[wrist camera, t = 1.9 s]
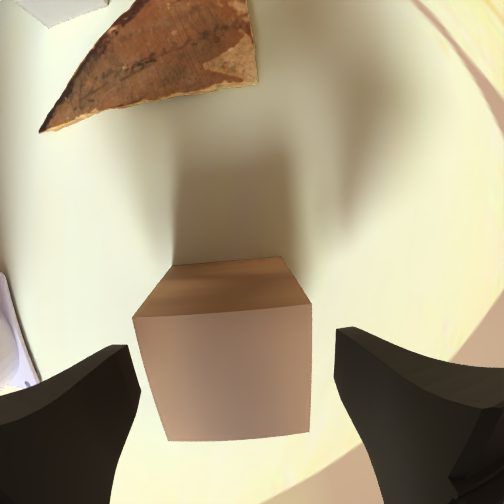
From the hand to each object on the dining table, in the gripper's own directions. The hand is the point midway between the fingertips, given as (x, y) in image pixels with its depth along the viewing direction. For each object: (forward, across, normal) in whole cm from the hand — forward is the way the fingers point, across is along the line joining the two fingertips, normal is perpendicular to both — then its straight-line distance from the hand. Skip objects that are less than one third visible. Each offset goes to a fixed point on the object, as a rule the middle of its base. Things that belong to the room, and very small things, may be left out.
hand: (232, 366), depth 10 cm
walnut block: (+5, 0, 0) cm, 5 cm away
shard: (+6, +2, -12) cm, 13 cm away
